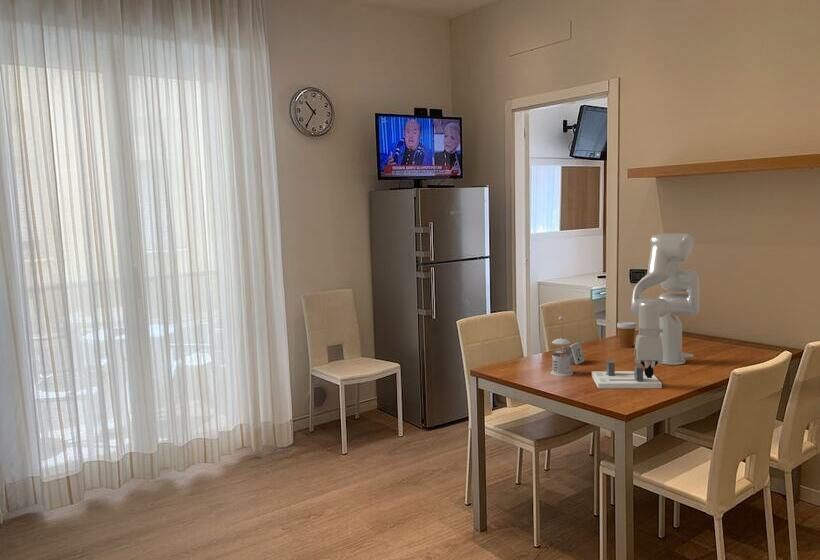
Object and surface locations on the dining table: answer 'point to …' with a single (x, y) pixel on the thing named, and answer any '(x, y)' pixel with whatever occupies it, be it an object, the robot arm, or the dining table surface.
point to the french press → (561, 358)
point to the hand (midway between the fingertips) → (648, 377)
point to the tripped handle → (638, 372)
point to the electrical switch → (576, 353)
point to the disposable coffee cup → (626, 333)
